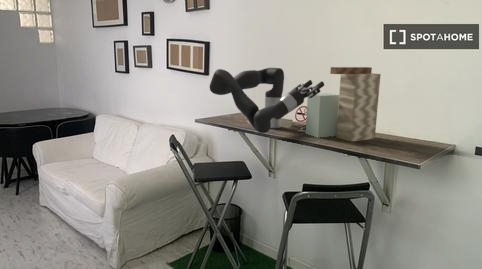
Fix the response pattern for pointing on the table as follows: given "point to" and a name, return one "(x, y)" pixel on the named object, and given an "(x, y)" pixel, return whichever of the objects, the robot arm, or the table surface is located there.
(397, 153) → the table surface
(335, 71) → the bar
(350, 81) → the tall stand
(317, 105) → the short pedestal
